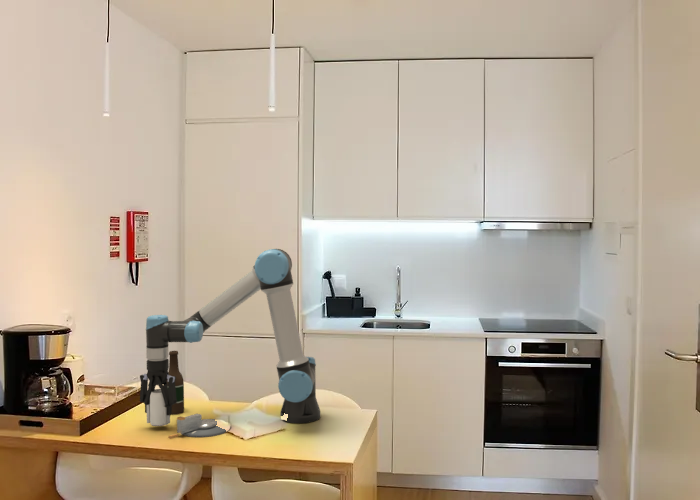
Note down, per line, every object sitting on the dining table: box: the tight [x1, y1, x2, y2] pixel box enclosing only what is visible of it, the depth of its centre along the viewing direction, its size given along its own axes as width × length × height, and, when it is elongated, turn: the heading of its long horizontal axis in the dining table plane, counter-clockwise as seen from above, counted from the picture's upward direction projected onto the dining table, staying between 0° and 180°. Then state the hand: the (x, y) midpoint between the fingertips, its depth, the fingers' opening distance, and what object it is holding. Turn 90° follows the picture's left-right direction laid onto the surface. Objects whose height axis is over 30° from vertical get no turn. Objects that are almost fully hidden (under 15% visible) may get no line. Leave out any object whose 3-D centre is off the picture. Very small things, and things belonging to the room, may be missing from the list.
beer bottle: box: [167, 350, 185, 416], centre depth 244 cm, size 8×8×24 cm
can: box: [149, 388, 165, 427], centre depth 223 cm, size 6×6×12 cm
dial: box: [176, 413, 217, 435], centre depth 220 cm, size 15×8×5 cm, turn 141°
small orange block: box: [168, 433, 179, 440], centre depth 214 cm, size 3×1×1 cm, turn 134°
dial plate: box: [181, 418, 227, 438], centre depth 223 cm, size 18×18×1 cm
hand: (158, 422), depth 223 cm, fingers closed on can, 6 cm apart
